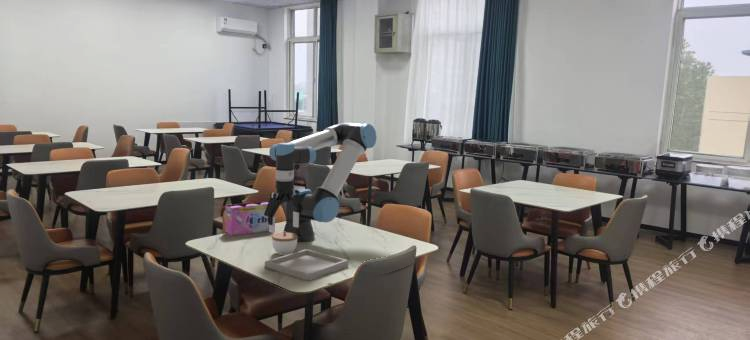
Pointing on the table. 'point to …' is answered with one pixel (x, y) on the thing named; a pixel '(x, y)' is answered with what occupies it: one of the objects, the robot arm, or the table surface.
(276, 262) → the grey rimmed tray
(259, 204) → the gum box
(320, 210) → the robot arm
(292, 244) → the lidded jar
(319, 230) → the table surface
